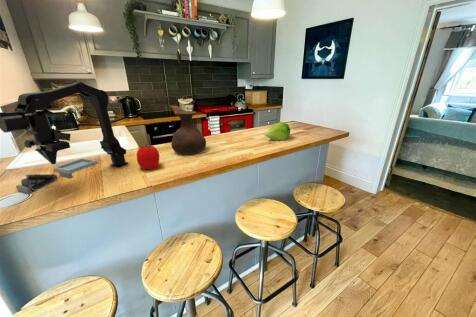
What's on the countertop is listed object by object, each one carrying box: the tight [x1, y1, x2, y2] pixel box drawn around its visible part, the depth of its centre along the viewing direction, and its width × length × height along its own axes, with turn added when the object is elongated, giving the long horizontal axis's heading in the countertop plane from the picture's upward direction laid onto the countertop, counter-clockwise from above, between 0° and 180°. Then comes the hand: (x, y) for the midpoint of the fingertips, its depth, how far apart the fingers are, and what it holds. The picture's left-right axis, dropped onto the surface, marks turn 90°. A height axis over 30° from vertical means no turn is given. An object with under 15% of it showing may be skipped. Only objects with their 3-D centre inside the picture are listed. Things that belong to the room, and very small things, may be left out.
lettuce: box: [264, 121, 291, 142], centre depth 151 cm, size 15×22×15 cm, turn 115°
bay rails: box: [15, 171, 74, 195], centre depth 92 cm, size 8×17×3 cm, turn 159°
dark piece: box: [20, 173, 59, 192], centre depth 90 cm, size 10×7×12 cm
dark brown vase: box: [169, 105, 207, 156], centre depth 127 cm, size 22×22×30 cm
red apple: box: [136, 143, 160, 170], centre depth 107 cm, size 12×12×13 cm
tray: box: [53, 157, 99, 174], centre depth 110 cm, size 12×15×2 cm
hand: (53, 164), depth 84 cm, fingers closed
